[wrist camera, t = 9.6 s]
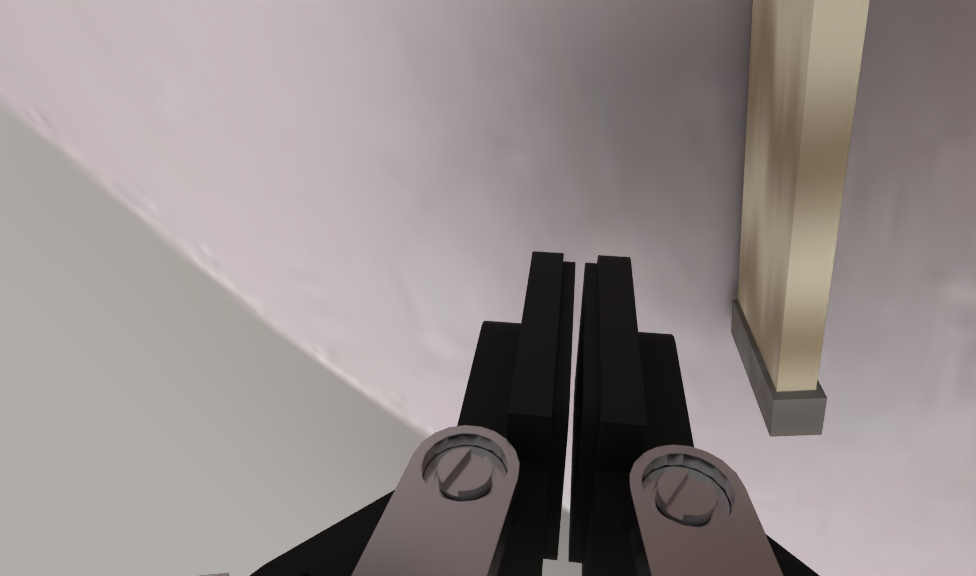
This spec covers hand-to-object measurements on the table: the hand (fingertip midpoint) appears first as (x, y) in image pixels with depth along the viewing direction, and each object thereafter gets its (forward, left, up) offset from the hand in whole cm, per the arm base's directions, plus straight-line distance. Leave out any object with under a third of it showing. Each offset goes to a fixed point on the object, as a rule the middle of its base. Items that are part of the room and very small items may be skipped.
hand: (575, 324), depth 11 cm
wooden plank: (-6, +1, -13) cm, 14 cm away
